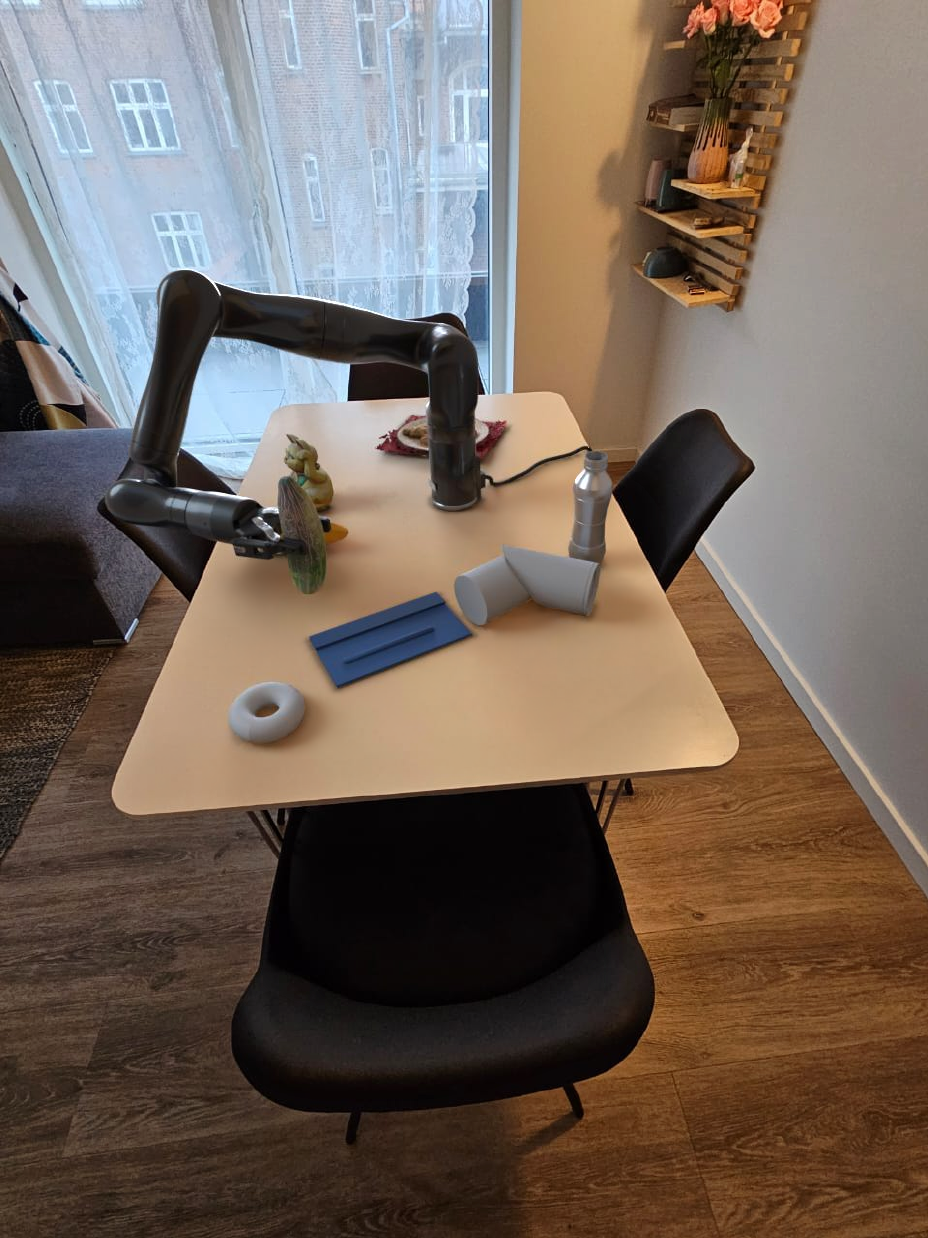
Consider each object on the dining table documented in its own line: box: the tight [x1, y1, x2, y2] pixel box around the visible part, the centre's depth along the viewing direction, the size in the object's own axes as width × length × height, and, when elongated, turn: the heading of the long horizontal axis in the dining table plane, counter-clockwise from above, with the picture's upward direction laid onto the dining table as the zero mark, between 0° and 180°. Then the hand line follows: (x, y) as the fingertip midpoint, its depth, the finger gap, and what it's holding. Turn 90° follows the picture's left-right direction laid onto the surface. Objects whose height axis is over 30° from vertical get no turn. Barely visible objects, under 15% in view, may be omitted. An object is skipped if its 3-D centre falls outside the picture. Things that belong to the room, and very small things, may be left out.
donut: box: [228, 681, 306, 744], centre depth 87 cm, size 10×4×10 cm
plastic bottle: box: [567, 450, 614, 564], centre depth 108 cm, size 6×7×20 cm
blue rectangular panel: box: [308, 591, 473, 689], centre depth 100 cm, size 22×12×1 cm, turn 119°
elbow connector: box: [453, 544, 601, 626], centre depth 102 cm, size 18×11×20 cm
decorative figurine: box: [283, 433, 335, 512], centre depth 129 cm, size 10×8×15 cm
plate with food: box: [374, 414, 508, 460], centre depth 156 cm, size 24×26×3 cm
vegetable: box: [277, 475, 328, 595], centre depth 97 cm, size 6×6×20 cm
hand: (317, 536), depth 96 cm, fingers closed on vegetable, 6 cm apart
